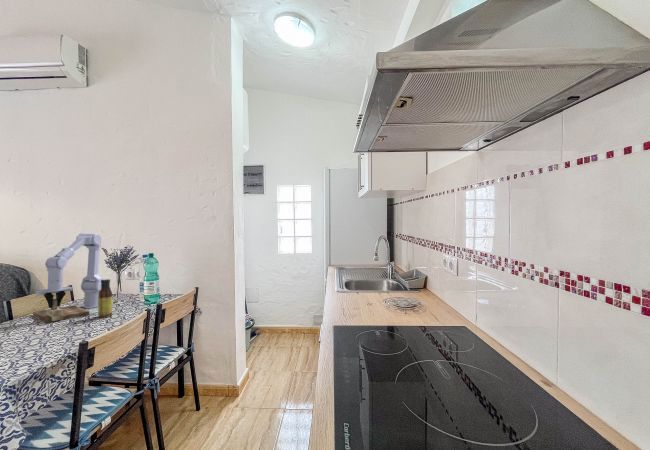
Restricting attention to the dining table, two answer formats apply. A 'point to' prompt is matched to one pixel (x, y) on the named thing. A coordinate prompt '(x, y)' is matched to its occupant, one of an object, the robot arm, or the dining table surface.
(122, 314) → the dining table surface
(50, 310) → the cream block
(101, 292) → the yellow labelled brown bottle
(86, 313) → the board
